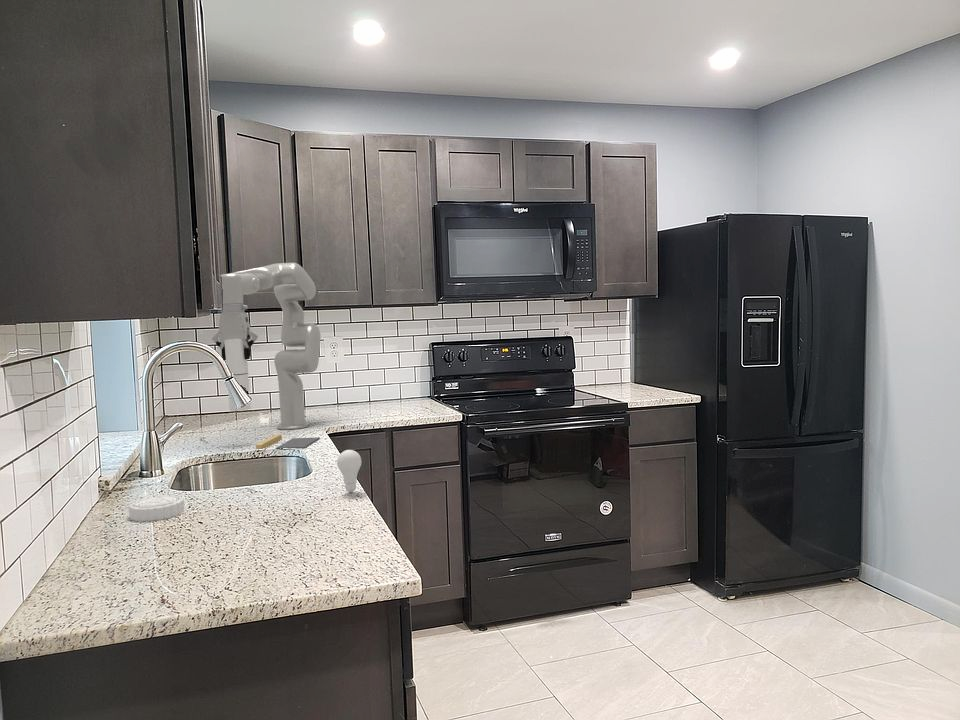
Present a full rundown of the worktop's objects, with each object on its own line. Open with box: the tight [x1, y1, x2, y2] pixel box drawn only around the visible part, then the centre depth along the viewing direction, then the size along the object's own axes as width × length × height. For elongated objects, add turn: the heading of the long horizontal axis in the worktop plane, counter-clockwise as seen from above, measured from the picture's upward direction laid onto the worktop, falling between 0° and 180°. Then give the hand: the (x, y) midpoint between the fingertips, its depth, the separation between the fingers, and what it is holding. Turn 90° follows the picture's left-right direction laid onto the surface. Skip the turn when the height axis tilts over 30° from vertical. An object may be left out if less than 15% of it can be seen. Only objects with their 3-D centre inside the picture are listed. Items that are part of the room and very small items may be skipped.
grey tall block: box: [224, 339, 252, 412], centre depth 257 cm, size 7×7×25 cm
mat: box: [275, 436, 321, 450], centre depth 257 cm, size 18×10×1 cm, turn 176°
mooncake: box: [128, 494, 185, 522], centre depth 173 cm, size 12×12×4 cm
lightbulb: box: [336, 449, 362, 494], centre depth 185 cm, size 6×6×11 cm
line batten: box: [255, 433, 283, 450], centre depth 258 cm, size 20×2×2 cm, turn 176°
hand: (236, 359), depth 257 cm, fingers closed on grey tall block, 7 cm apart
